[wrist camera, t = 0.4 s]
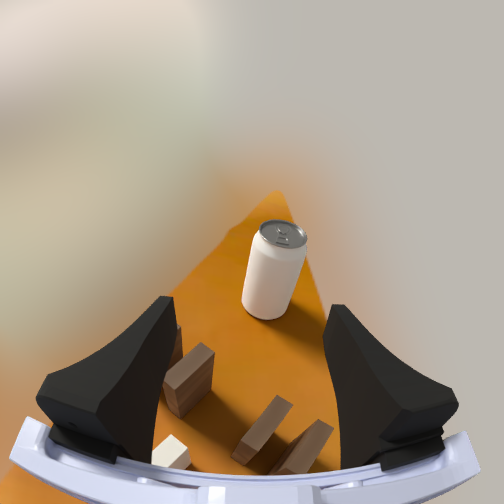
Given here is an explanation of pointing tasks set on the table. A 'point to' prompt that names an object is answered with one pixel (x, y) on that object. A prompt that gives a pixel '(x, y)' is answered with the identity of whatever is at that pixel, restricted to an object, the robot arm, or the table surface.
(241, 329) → the table surface
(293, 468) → the domino
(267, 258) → the can
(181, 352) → the domino
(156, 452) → the domino
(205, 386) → the domino
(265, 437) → the domino
